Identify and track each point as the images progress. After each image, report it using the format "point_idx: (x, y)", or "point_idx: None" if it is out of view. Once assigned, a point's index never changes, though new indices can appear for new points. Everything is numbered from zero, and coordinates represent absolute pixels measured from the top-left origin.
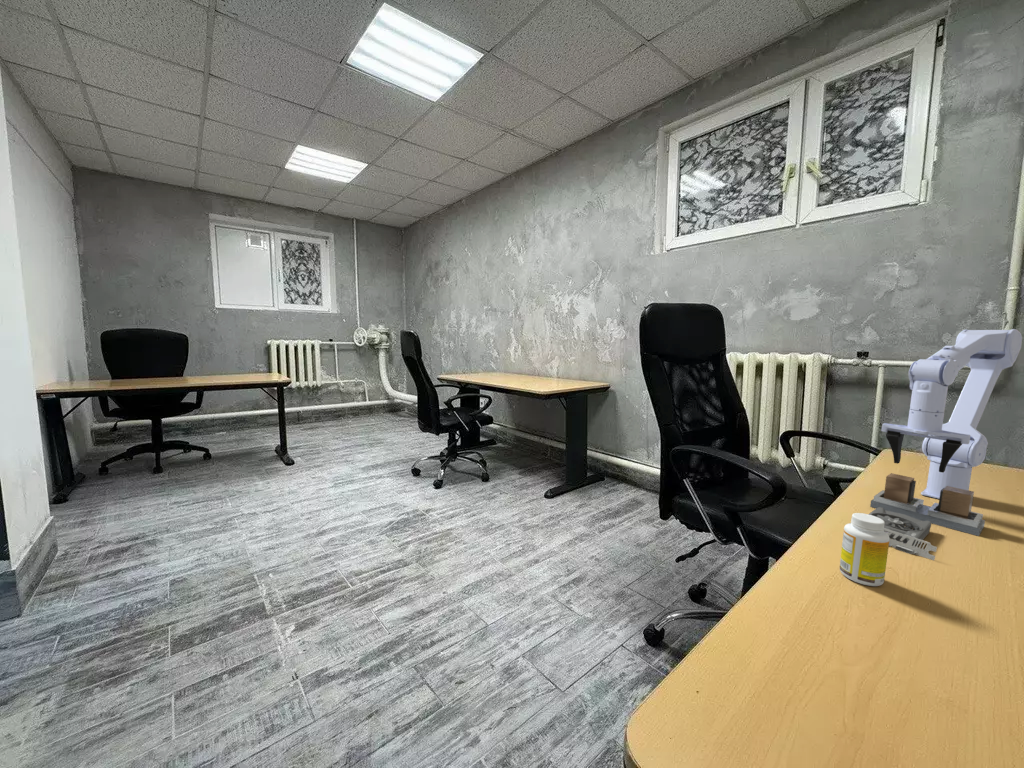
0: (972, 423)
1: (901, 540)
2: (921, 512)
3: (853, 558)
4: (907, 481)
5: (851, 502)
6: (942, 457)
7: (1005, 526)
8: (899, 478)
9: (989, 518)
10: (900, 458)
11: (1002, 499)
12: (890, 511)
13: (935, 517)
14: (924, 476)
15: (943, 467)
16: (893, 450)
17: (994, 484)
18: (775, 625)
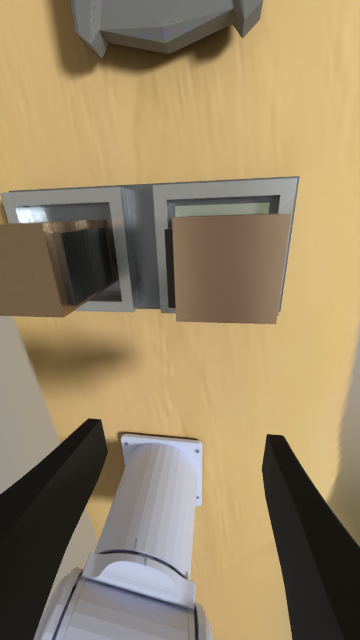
0: None
1: None
2: (146, 205)
3: None
4: (183, 217)
5: (356, 167)
6: (35, 493)
7: (38, 348)
8: (224, 229)
9: (71, 380)
10: (265, 493)
11: (102, 514)
12: (212, 14)
13: (105, 186)
14: (223, 566)
15: (70, 436)
16: (328, 518)
17: None
18: None
